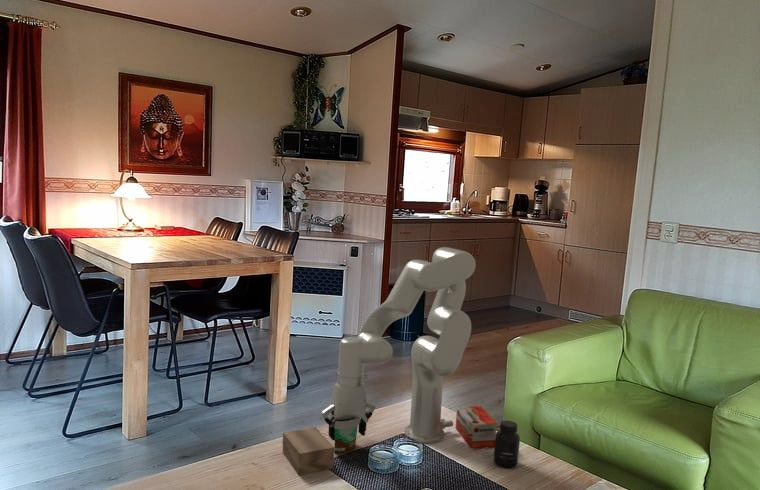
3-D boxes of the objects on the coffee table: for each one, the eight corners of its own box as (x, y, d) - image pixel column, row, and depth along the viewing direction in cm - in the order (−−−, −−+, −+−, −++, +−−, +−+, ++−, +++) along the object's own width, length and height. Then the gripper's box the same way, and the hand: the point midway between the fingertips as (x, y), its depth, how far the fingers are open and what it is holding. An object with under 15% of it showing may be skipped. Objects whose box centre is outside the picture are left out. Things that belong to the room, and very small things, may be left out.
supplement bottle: (504, 471, 160) (507, 430, 158) (488, 460, 166) (491, 420, 164) (522, 466, 163) (525, 426, 162) (507, 456, 169) (510, 417, 168)
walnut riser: (315, 446, 169) (315, 427, 168) (333, 468, 157) (334, 447, 156) (282, 452, 164) (283, 432, 164) (298, 475, 152) (299, 453, 151)
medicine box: (454, 428, 187) (456, 405, 186) (478, 428, 188) (479, 404, 188) (470, 450, 172) (472, 424, 171) (496, 448, 174) (497, 423, 173)
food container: (353, 458, 163) (355, 424, 162) (333, 455, 164) (334, 421, 163) (362, 439, 175) (364, 408, 174) (343, 437, 176) (345, 406, 175)
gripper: (371, 373, 175) (367, 427, 176) (318, 378, 167) (315, 435, 168) (382, 381, 168) (378, 437, 170) (327, 387, 160) (324, 446, 162)
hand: (347, 436), depth 169 cm, fingers open, 9 cm apart
